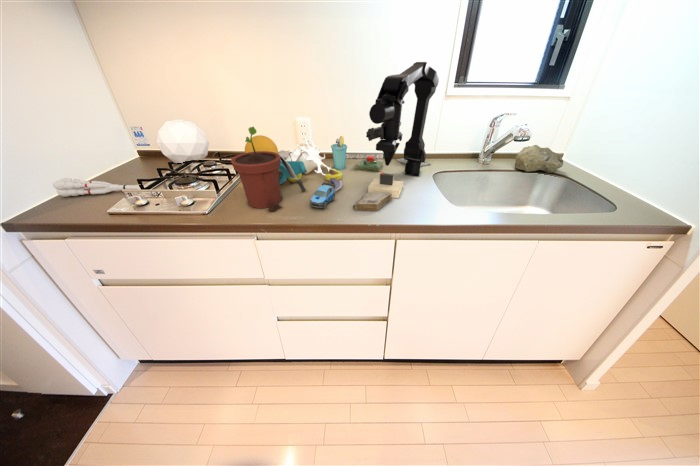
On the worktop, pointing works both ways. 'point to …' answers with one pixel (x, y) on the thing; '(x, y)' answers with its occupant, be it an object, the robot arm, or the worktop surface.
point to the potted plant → (261, 176)
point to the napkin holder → (406, 161)
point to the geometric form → (182, 141)
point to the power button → (370, 158)
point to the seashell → (284, 155)
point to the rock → (538, 159)
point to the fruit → (296, 177)
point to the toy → (261, 144)
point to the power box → (370, 165)
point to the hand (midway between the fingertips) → (387, 164)
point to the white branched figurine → (312, 158)
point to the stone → (372, 201)
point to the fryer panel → (386, 187)
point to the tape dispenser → (296, 167)
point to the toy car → (323, 196)
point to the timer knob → (386, 179)
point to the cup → (339, 153)
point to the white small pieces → (295, 154)
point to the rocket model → (87, 187)
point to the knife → (334, 178)
